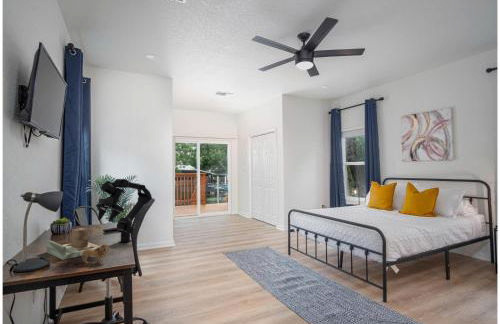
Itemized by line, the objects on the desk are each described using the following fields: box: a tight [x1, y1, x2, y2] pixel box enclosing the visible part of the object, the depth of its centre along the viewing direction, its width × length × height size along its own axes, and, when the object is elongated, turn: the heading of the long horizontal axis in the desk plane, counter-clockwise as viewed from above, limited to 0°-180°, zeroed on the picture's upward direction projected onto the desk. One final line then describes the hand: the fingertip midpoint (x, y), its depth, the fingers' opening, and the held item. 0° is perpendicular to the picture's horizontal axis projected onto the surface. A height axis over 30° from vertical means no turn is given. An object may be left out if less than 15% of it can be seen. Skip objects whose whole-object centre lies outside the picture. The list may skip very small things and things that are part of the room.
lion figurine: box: [77, 243, 110, 264], centre depth 150 cm, size 15×5×9 cm, turn 105°
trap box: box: [46, 239, 101, 261], centre depth 168 cm, size 20×22×6 cm
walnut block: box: [71, 227, 89, 248], centre depth 170 cm, size 6×7×10 cm
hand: (103, 220), depth 178 cm, fingers open, 9 cm apart
